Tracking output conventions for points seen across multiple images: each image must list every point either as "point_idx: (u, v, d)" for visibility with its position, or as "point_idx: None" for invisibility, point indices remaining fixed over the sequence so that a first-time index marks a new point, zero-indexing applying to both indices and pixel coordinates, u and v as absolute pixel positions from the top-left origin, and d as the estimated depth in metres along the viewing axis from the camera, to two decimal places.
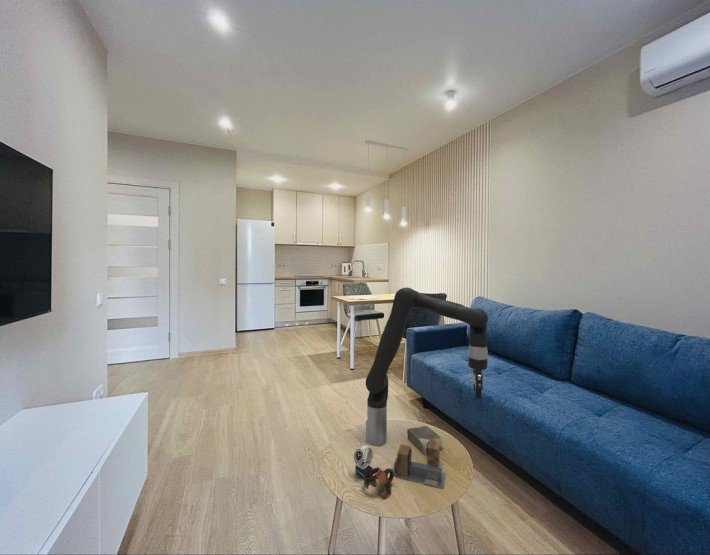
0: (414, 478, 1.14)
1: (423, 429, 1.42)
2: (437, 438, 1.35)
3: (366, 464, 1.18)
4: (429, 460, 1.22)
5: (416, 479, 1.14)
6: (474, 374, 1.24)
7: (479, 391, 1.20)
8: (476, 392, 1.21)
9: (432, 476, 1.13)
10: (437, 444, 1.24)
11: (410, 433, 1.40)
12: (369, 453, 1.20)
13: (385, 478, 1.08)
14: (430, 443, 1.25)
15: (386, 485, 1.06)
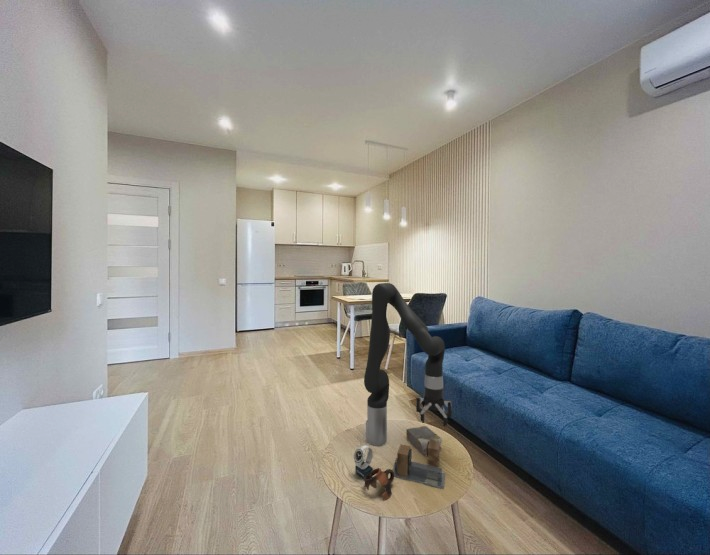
0: (414, 478, 1.14)
1: (422, 430, 1.42)
2: (436, 438, 1.34)
3: (366, 464, 1.18)
4: (429, 460, 1.22)
5: (416, 479, 1.14)
6: (438, 404, 1.22)
7: (447, 417, 1.23)
8: (445, 420, 1.22)
9: (432, 476, 1.13)
10: (437, 444, 1.24)
11: (409, 433, 1.40)
12: (369, 453, 1.20)
13: (385, 479, 1.07)
14: (430, 443, 1.25)
15: (386, 486, 1.06)
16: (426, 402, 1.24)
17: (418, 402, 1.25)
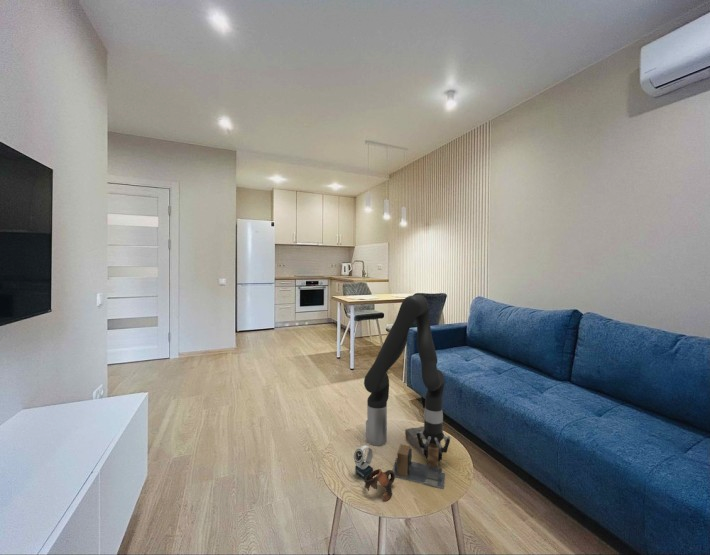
0: (414, 478, 1.14)
1: (421, 430, 1.42)
2: None
3: (366, 464, 1.18)
4: (429, 460, 1.22)
5: (416, 479, 1.14)
6: (437, 438, 1.22)
7: (442, 452, 1.23)
8: (440, 455, 1.23)
9: (432, 476, 1.13)
10: None
11: (408, 434, 1.40)
12: (369, 453, 1.20)
13: (386, 480, 1.07)
14: (430, 443, 1.25)
15: (387, 487, 1.05)
16: (426, 436, 1.24)
17: (419, 437, 1.25)
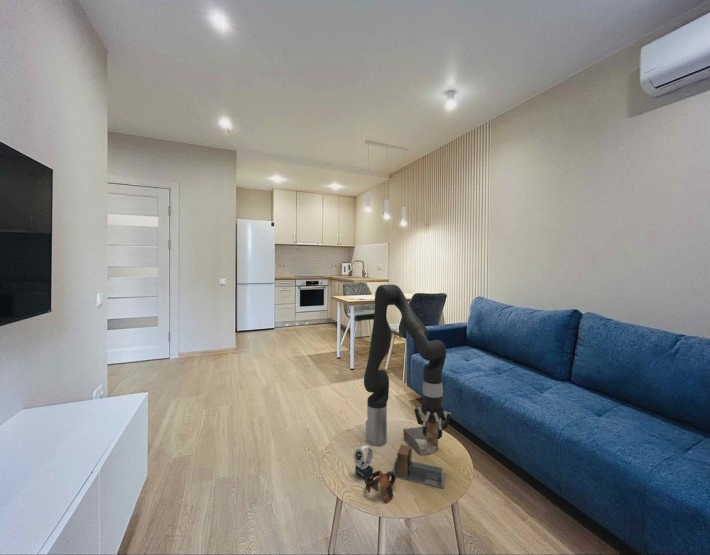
0: (414, 478, 1.14)
1: (419, 430, 1.42)
2: None
3: (366, 464, 1.18)
4: (428, 437, 1.12)
5: (416, 479, 1.14)
6: (437, 414, 1.13)
7: None
8: (440, 432, 1.13)
9: (432, 476, 1.13)
10: None
11: (406, 434, 1.40)
12: (369, 453, 1.20)
13: (387, 481, 1.06)
14: (429, 419, 1.15)
15: (388, 489, 1.05)
16: (424, 412, 1.15)
17: (417, 413, 1.15)
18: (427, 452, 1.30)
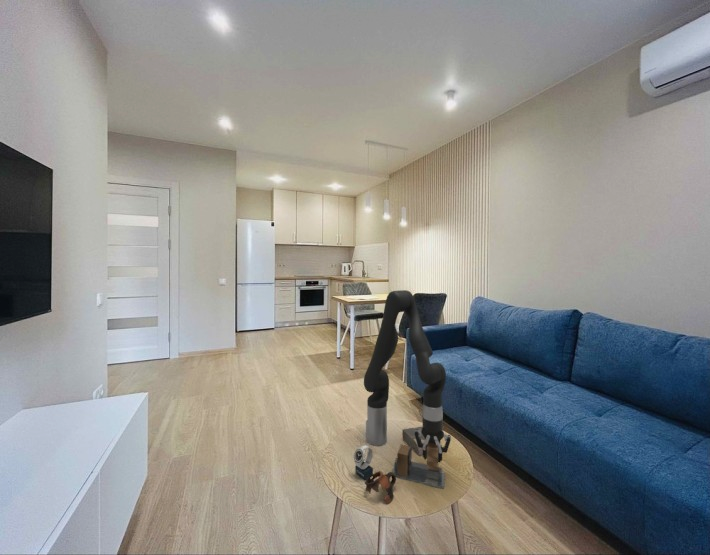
0: (414, 478, 1.14)
1: None
2: None
3: (366, 464, 1.18)
4: (428, 460, 1.12)
5: (416, 479, 1.14)
6: (437, 437, 1.13)
7: (442, 452, 1.14)
8: (440, 456, 1.13)
9: (432, 476, 1.13)
10: None
11: (405, 434, 1.40)
12: (369, 453, 1.20)
13: (387, 482, 1.05)
14: None
15: (389, 489, 1.04)
16: (424, 435, 1.15)
17: (417, 436, 1.16)
18: None
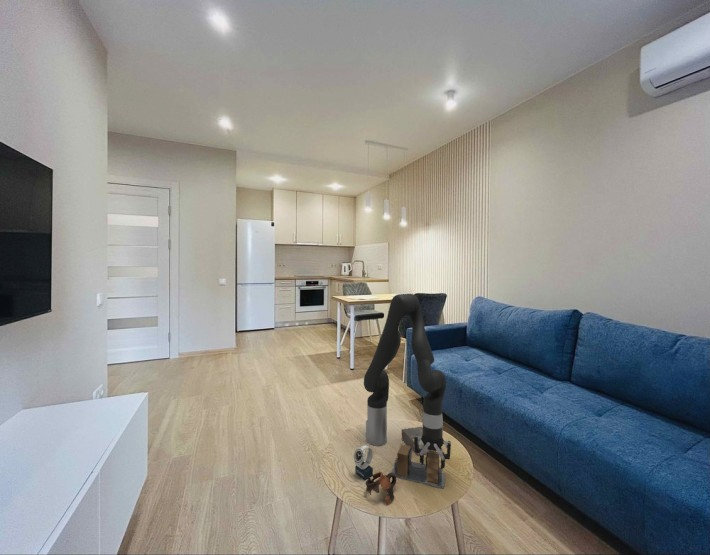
0: (414, 478, 1.14)
1: (417, 430, 1.42)
2: None
3: (366, 464, 1.18)
4: (428, 472, 1.12)
5: (416, 479, 1.14)
6: (437, 444, 1.13)
7: (444, 459, 1.13)
8: (442, 462, 1.13)
9: None
10: (437, 455, 1.15)
11: (404, 434, 1.40)
12: (369, 453, 1.20)
13: (388, 483, 1.05)
14: (429, 454, 1.15)
15: (389, 490, 1.04)
16: (424, 442, 1.15)
17: (416, 442, 1.16)
18: (425, 452, 1.30)
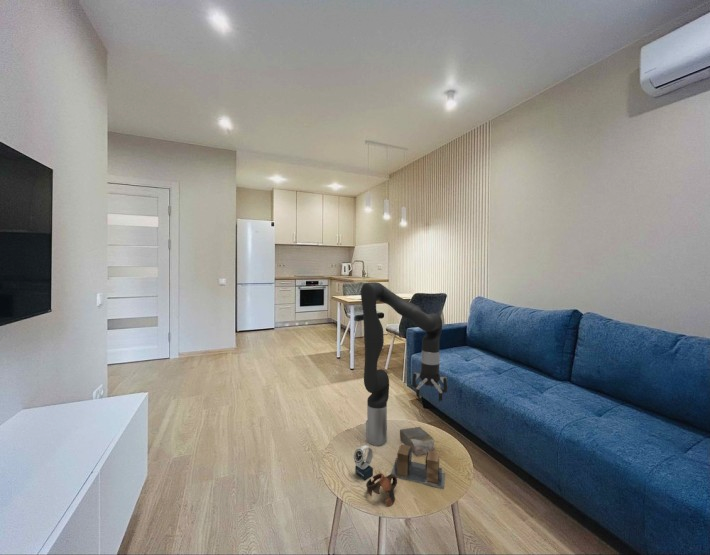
0: (414, 478, 1.14)
1: (416, 430, 1.41)
2: (429, 439, 1.34)
3: (366, 464, 1.18)
4: (428, 472, 1.12)
5: (416, 479, 1.14)
6: (434, 380, 1.23)
7: (442, 393, 1.24)
8: (440, 395, 1.23)
9: None
10: (437, 455, 1.15)
11: (402, 434, 1.40)
12: (369, 453, 1.20)
13: (389, 484, 1.04)
14: (429, 454, 1.15)
15: (390, 492, 1.03)
16: (422, 378, 1.25)
17: (414, 377, 1.26)
18: (423, 452, 1.30)
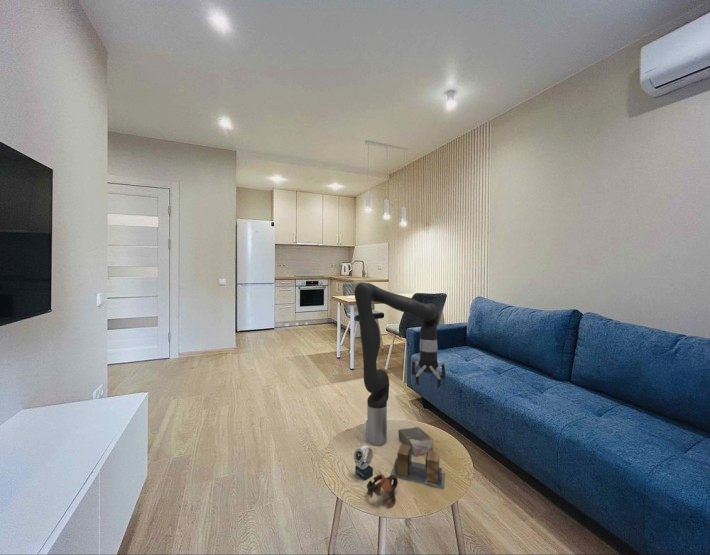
0: (414, 478, 1.14)
1: (414, 430, 1.41)
2: (428, 439, 1.34)
3: (366, 464, 1.18)
4: (428, 472, 1.12)
5: (416, 479, 1.14)
6: (432, 366, 1.29)
7: (440, 379, 1.29)
8: (439, 382, 1.28)
9: None
10: (437, 455, 1.15)
11: (401, 434, 1.40)
12: (369, 453, 1.20)
13: (389, 486, 1.04)
14: (429, 454, 1.15)
15: (391, 493, 1.02)
16: (421, 365, 1.31)
17: (413, 365, 1.32)
18: (421, 453, 1.30)
